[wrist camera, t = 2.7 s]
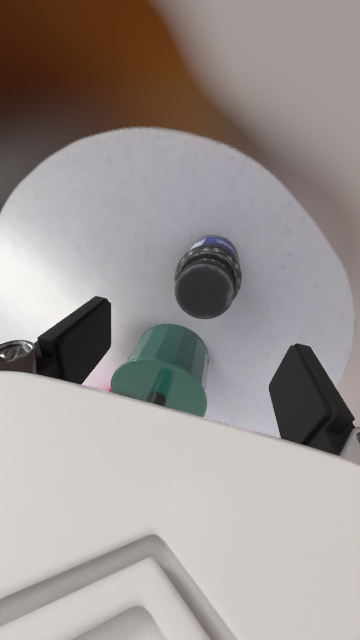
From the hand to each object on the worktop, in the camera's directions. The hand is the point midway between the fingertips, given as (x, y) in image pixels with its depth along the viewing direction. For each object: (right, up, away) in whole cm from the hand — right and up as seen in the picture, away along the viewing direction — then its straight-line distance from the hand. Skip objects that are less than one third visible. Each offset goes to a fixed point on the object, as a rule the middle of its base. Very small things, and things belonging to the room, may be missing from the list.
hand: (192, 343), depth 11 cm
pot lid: (-4, -9, +16) cm, 18 cm away
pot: (-2, -5, +23) cm, 24 cm away
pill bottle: (+3, +9, +15) cm, 18 cm away
